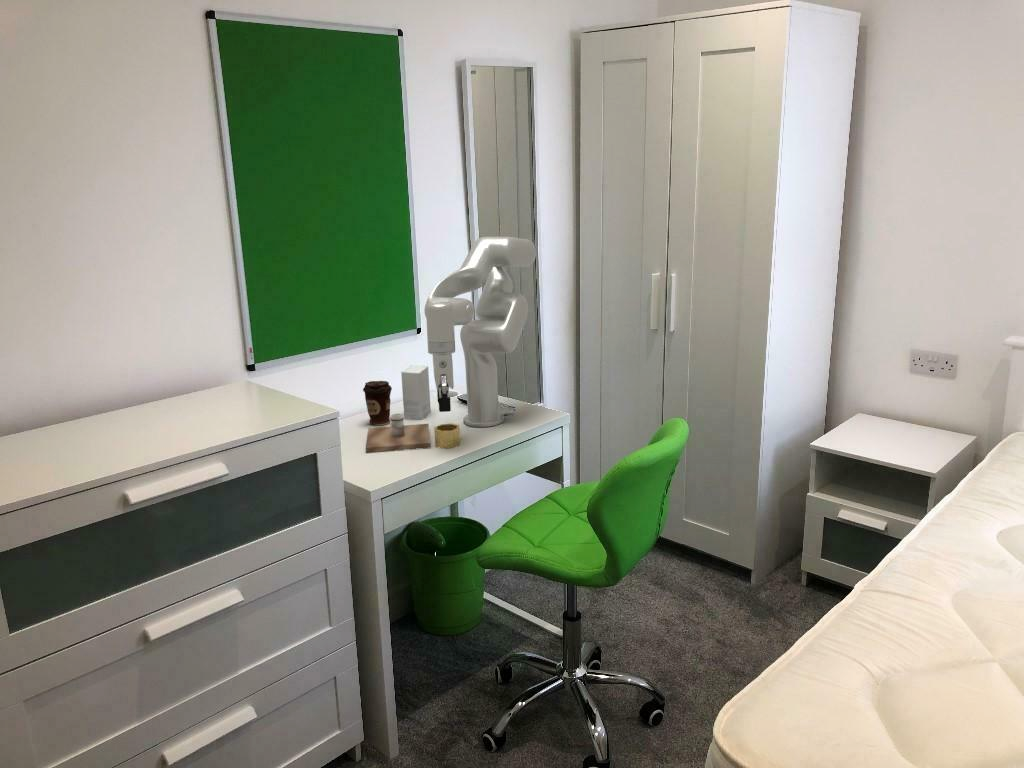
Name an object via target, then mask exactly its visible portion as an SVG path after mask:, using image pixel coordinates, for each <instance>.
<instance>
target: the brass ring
mask: <svg viewBox="0 0 1024 768" xmlns="http://www.w3.org/2000/svg"><path fill="white" fill-rule="evenodd" d="M433 429H434V444H435V447H436V448H438V447H440V448H439V449H442V448H446V449H453V448H454V447H455V448H456V446H457V447H459V446H461V445H462V444H461V430H460V425H459V424H455V423H441V424H439V425H435V426H434V428H433ZM455 448H454V449H455Z"/></svg>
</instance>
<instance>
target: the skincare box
mask: <svg viewBox="0 0 1024 768" xmlns="http://www.w3.org/2000/svg"><path fill="white" fill-rule="evenodd" d="M400 373H401V374H400V375H401V388H402V389H401V390H402V403H403V417H404V419H405V418H410V419H409V420H423V419H424V418H426V417H427V415H429V414H430V413H431V412H432V411H431V410H432V409H431V397H430V396H431V394H430V392H431V391H430V377H429V376H430V375H429V365H413V364H412V365H409V366H408V367H406V368H405V369H403V370H402V371H401V372H400Z"/></svg>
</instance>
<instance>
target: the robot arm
mask: <svg viewBox="0 0 1024 768" xmlns="http://www.w3.org/2000/svg"><path fill="white" fill-rule="evenodd" d="M536 258H537V250H536V246H535V244H534V242H533V241H532V240H531V239H529V238H528V239H527V238H521V237H520V238H519V237H512V236H482V237H479V238H477V239H476V240H475V241H474V242H473V245H472V246H471V248H470V249H469V251H468V253H467V255H466V257H465V259H464V261H463V262H462V264H461V266H460V268H459V269H458V270H456V271H454V272H452V273H450V274H448V275H447V276H446V277H444V278H443V279H441V280H440V281H439V282H438V283H436V284H435V286H434V287H433V288H432V290H431V292H430V293H429V296H427V297H428V298H427V299H426V302H425V305H424V316H425V319H426V335H427V336H426V338H427V340H426V341H427V353H428V354H430V355H432V368H433V377H434V383H435V388H436V393H437V394H436V395H437V403H438V411H439V412H440V413H445V412H446V413H447V412H451V410H452V407H451V396H450V389H451V390H453V389H454V388H455V385H454V384H455V383H454V367H453V355H452V354H454V353H456V336H455V335H456V334H455V326H461V329H460V331H459V333H460V334H459V336H460V343H461V346H462V351H463V355H464V366H465V382H466V385H465V386H466V399H467V401H466V402H467V414H466V415H465V416H464V417H463V418H462V420H463V424H464V425H466V426H469V427H473V428H475V427H476V428H486V427H492V426H493V427H494V426H497V425H500V424H502V423H504V421H505V415H506V416H507V415H510V416H511V415H514V414H515V409H514V407H510V408H509V406H504V407H501V406H500V404H499V392H498V391H499V390H498V389H499V388H498V366H497V362H496V359H495V357H494V356H493V355H492V354H510V353H512V352H513V351H514V350H515V349H516V348H517V345H518V343H519V341H520V337H521V334H522V332H523V329H524V327H525V324H526V322H527V317H528V313H529V304H528V301H527V298H526V297H525V296H524V295H523V294H521V293H519V292H513V288H514V283H513V280H512V278H511V277H510V275H509V273H507V271H506V269H505V267H511V268H513V267H514V268H527V267H528V268H529V267H530V266H532V265H533V264H534V263H535V261H536ZM482 287H483V289H482V291H481V294H480V296H479V299H478V301H477V304H476V306H475V305H474V303H473V302H472V301H471V300H469V299H468V298H461V297H457V296H461V295H463V294H466V293H470V292H473V291H476V290H478V289H481V288H482ZM475 315H476V317H477V319H474V317H475Z"/></svg>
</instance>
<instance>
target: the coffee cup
mask: <svg viewBox="0 0 1024 768" xmlns="http://www.w3.org/2000/svg"><path fill="white" fill-rule="evenodd" d="M392 390H393V388H392V386H391V385H390V382H389V381H387V380H371V381H367V382H365V385H364V387H363V388H362V392H364V398H365V405H366V408H367V410H366V411H367V414H368V416H369V424H370V425H373V426H386V425H389V424H391V420H390V418H391V393H392Z"/></svg>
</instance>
